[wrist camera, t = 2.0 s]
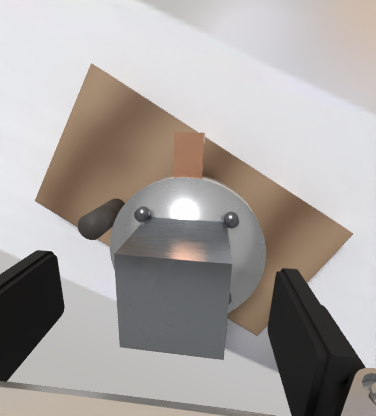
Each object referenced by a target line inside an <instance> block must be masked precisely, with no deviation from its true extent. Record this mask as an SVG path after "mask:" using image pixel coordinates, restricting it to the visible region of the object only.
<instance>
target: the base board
mask: <svg viewBox="0 0 376 416" xmlns="http://www.w3.org/2000/svg"><path fill="white" fill-rule="evenodd" d="M174 132H188V133H198V132H197V131H195V130H194V129H192V128H191V127H189V126H188V125H186V124H184V123H183V122H181V121H180V120H178V119H177V118H175V117H174V116H172V115H171V114H169V113H168V112H166V111H164V110H163V109H161V108H160V107H158V106H157V105H155V104H154V103H152V102H151V101H149V100H148V99H146V98H145V97H143V96H141V95H140V94H138V93H137V92H135V91H134V90H132V89H131V88H129V87H128V86H126V85H125V84H123V83H121V82H120V81H118V80H117V79H115V78H114V77H112V76H111V75H109V74H108V73H106V72H104V71H103V70H101V69H100V68H98V67H96V66H95V65H93V64H91V65H90V68H89V70H88V73H87V75H86V77H85V80H84V82H83V85H82V87H81V90H80V92H79V94H78V97H77V99H76V102H75V104H74V107H73V109H72V112H71V114H70V116H69V119H68V121H67V124H66V126H65V129H64V131H63V133H62V136H61V138H60V141H59V143H58V146H57V148H56V151H55V153H54V155H53V158H52V160H51V163H50V165H49V168H48V170H47V172H46V175H45V177H44V180H43V182H42V185H41V187H40V189H39V192H38V194H37V197H36V199H35V201H36V202H37V203H39V204H41V205H42V206H44V207H46V208H47V209H49V210H50V211H52V212H54V213H55V214H57V215H59V216H60V217H62V218H64V219H65V220H67V221H69V222H70V223H72V224H74V225H75V226H77V227H78V230H79V232H80V234H81V235H82V236H83V237H85V238H86V239H89V240H96V239H98V240H100V241H102V242H103V243H105V244H107V245H108V246H110V237H111V231H112V227H113V224H114V221H115V219H116V217H117V215H118V213H119V212H120V210H121V208H122V207H123V206H124V204H125V203H126V202H127V201H128V200H129V199H130V198H131V197H132V196H133V195H135V194H136V193H137V192H138V191H140V190H141V189H143V188H144V187H146V186H147V185H149V184H151V183H152V182H154V181H156V180H159V179H161V178H164V177H167V176H171V175H174ZM203 176H207V177H211V178H213V179H216V180H219V181H221V182H223V183H224V184H226V185H228V186H230V187H231V188H232V189H234V190H235V191H236V192H237V193H238V194H240V195H241V196H242V197H243V198H244V200H245V201H246V202H247V203H248V205H249V206H250V207H251V209H252V211H253V213H254V214H255V216H256V218H257V220H258V222H259V224H260V227H261V229H262V232H263V235H264V239H265V244H266V263H265V268H264V272H263V275H262V277H261V280H260V282H259V284H258V286H257V287H256V289H255V290H254V292H253V293H252V294H251V296H250V297H249V298H248V299H247V300H246V301H245V302H244V303H242V304H241V305H240V306H239V307H237V308H236V309H234V310H232V311H231V312H229V313H228V316H227V318H229V319H230V320H232V321H234V322H235V323H237V324H239V325H240V326H242V327H244V328H245V329H247V330H249V331H250V332H252V333H254V334H255V335H258V334H259V333H260V332H261V331H262V330H263V329H264V328H265V327H266V326H267V325H268V321H269V314H270V308H271V301H272V295H273V289H274V282H275V276H276V272H277V271H281V269H282V268H290V269H298V270H299V272H300V274H301V275H302V277H303V278H304V280H305V281H306V283H307V282H308V281H309V280H310V279H311V278H312V277H313V276H314V275H315V274H316V273H317V272H318V271H319V270H320V269H321V268H322V267H323V266H324V264H325V263H326V262H327V261H328V260H329V259H330V258H331V257H332V256H333V255H334V254H335V253H336V252H337V251H338V250H339V249H340V248H341V246H342V245H343V244H344V243H345V242H346V241H347V240H348V239H349V238H350V237H351V236H352V235H353V233H351V232H350V231H349V230H347V229H346V228H344V227H343V226H341V225H340V224H338V223H337V222H335V221H334V220H332V219H331V218H329V217H328V216H326V215H324V214H323V213H321V212H320V211H318V210H317V209H315V208H314V207H312V206H311V205H309V204H308V203H306V202H304V201H303V200H301V199H300V198H298V197H297V196H295V195H294V194H292V193H291V192H289V191H288V190H286V189H284V188H283V187H281V186H280V185H278V184H277V183H275V182H274V181H272V180H271V179H269V178H268V177H266V176H264V175H263V174H261V173H260V172H258V171H257V170H255V169H254V168H252V167H251V166H249V165H248V164H246V163H244V162H243V161H241V160H240V159H238V158H237V157H235V156H234V155H232V154H231V153H229V152H228V151H226V150H224V149H223V148H221V147H220V146H218V145H217V144H215V143H214V142H212V141H211V140H209V139H208V138H206V137H205V148H204V169H203Z"/></svg>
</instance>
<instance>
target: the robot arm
mask: <svg viewBox="0 0 376 416" xmlns="http://www.w3.org/2000/svg"><path fill="white" fill-rule="evenodd" d="M63 312H64V300H63V294H62V287H61V280H60V273H59V267H58V260H57V256H56V255H54V253H53V252H51V251H40V250H37V251H35V252H34V253H32V254H30V255H29V256H27V257H26V258H24V259H23V260H21V261H20V262H18V263H17V264H15V265H14V266H12V267H11V268H9V269H8V270H6V271H5V272H3V273H2V274H0V416H274V415H266V414H260V413H253V412H246V411H239V410H233V409H226V408H218V407H210V406H202V405H195V404H186V403H179V402H171V401H163V400H155V399H148V398H139V397H132V396H123V395H115V394H106V393H99V392H90V391H82V390H74V389H65V388H57V387H48V386H40V385H32V384H23V383H14V382H7V380H8V379H9V378H10V377H11V376H12V374H13V373H14V372H15V371H16V370H17V368H18V367H19V366H20V365H21V364H22V362H23V361H24V360H25V359H26V358H27V356H28V355H29V354H30V353H31V352H32V350H33V349H34V348H35V347H36V346H37V344H38V343H39V342H40V341H41V339H42V338H43V337H44V336H45V335H46V334H47V332H48V331H49V330H50V329H51V328H52V326H53V325H54V324H55V323H56V322H57V320H58V319H59V318H60V317H61V315H62V314H63ZM268 335H269V339H270V342H271V346H272V349H273V353H274V356H275V360H276V363H277V366H278V370H279V373H280V377H281V380H282V384H283V387H284V390H285V394H286V398H287V401H288V405H289V408H290V412H291V415H292V416H376V369H374V368H366V367H365V366H364V364H363V363H362V361H361V360H360V358H359V357H358V355H357V354H356V352H355V351H354V349H353V348H352V346H351V345H350V343H349V342H348V340H347V339H346V337H345V336H344V334H343V333H342V331H341V330H340V328H339V327H338V325H337V324H336V322H335V321H334V319H333V318H332V316H331V315H330V313H329V312H328V310H327V309H326V308H325V307H324V306H323V305H321V304H320V303H319V301H318V300H317V298H316V297H315V295H314V294H313V292H312V290H311V289H310V287H309V286H308V284H307V283H306V281H305V280H304V278H303V277H302V275H301V274H300V272H299V270H298V269H290V268H282V269H281V271H277V272H276V276H275V282H274V289H273V295H272V301H271V308H270V314H269V321H268Z"/></svg>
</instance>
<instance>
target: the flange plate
mask: <svg viewBox="0 0 376 416" xmlns="http://www.w3.org/2000/svg"><path fill="white" fill-rule="evenodd" d="M204 148H205V133H188V132H174V175H171V176H167V177H164V178H161V179H159V180H156V181H154V182H152V183H151V184H149V185H147V186H146V187H144V188H143V189H141V190H140V191H138V192H137V193H136V194H135V195H133V196H132V197H131V198H130V199H129V200H128V201H127V202H126V203H125V204H124V206H123V207H122V208H121V210H120V212H119V213H118V215H117V217H116V219H115V221H114V224H113V227H112V231H111V237H110V253H111V260H112V263H113V267H114V269H115V278H116V294H117V308H118V323H119V340H120V347H123V348H131V349H139V350H148V351H156V352H164V353H172V354H180V355H188V356H196V357H204V358H213V359H221V360H223V359H224V349H225V338H226V327H227V316H228V313H229V312H231V311H232V310H234V309H236V308H237V307H239V306H240V305H241V304H242V303H244V302H245V301H246V300H247V299H248V298H249V297H250V296H251V294H252V293H253V292H254V290H255V289H256V287H257V286H258V284H259V282H260V280H261V277H262V275H263V272H264V268H265V263H266V244H265V239H264V235H263V232H262V229H261V227H260V224H259V222H258V220H257V218H256V216H255V214H254V213H253V211H252V209H251V207H250V206H249V205H248V203H247V202H246V201H245V200H244V198H243V197H242V196H241V195H240V194H238V193H237V192H236V191H235V190H234V189H232V188H231V187H230V186H228V185H226V184H224V183H223V182H221V181H219V180H216V179H213V178H211V177H207V176H203V169H204Z"/></svg>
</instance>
